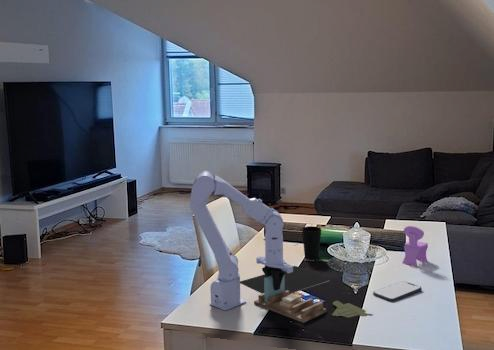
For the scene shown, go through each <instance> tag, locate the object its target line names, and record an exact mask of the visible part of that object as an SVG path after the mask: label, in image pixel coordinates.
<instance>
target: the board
mask: <svg viewBox="0 0 494 350" xmlns="http://www.w3.org/2000/svg"><path fill="white" fill-rule="evenodd" d="M284 291H285V280H284V276H283V279H282V282H281V285H280V289H279V290H276V291H275V290H274V287H273V278H272V275H271V276H268V277H266V278H264V296H265V302H267V298H269V297H272V296H274V295H277V294H279V293H282V292H284Z"/></svg>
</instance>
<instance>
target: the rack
mask: <svg viewBox="0 0 494 350" xmlns="http://www.w3.org/2000/svg"><path fill="white" fill-rule="evenodd" d="M288 295H290V291H288V290H287V291H284V292H282V293H279V294H277V295H274V296H272V297H269V298H267V302H265V296H264V293H263V294H262V293H260V294H258V299H256V300H254V302H253V303H254V305H256V306H259V307H261V308H265V309H267V310H268V311H269V310H270V311H272V312H275V313H277V314H280V315H282V316H285V317H287V318H291V319H293V320H295V321H298V322H301V323H302V324H305V323H306V322H308V321H311V320H313V319H315V318H317V317H320V315H323V314H326V313H327V312H328V311H327V308H325V307H324V302H322V301H318V302H316V303H315V304H314V299H313V298H311V297H310V298H308V299H304V300H303V302H301V303H299V304H296V305H294V306H292V307H291V309H288V308H285V307H283V306H280V302H281V301H282V298H283V297H285V296H288Z"/></svg>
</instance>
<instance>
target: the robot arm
mask: <svg viewBox="0 0 494 350" xmlns="http://www.w3.org/2000/svg"><path fill="white" fill-rule="evenodd" d="M212 193H213V195H214V196H215V195H216V196H218V195H223V196H225V197H227V198H228V199H230V200H232V201H233V202H235V203H236V204H238V205H240V206H242V207H243V209H244V213H245V214H246V215H247V216H249V217H250V218H252V219H253V220H255V221H256V222H258V223H260V224H263V225H264V226H265V235H264V247H265V248H264V249H265V251H264V252H265V254H264V255H265V257H264V256H257V257H256V258H255V259H256V262H255V263H256V264H261V265H264V267H262V268H261V270H262V272H263V275H264V274H265V276H266V277H268V276H271V275H272V278H273V287H274V290H275V291H276V290H279V289H280V285H281V282H282V279H283V276H284V274H285V273H286V272H287V273H291V272H293V266H294V265H291V264H289V263H288V262H285V259H284V237H283V228H284V226H285V223H284V219H283V217H282V215H281V213H280V212H278V210H276V209H275V208H273V207H271V208H270V207H269V206H268V205H266V204H265V203H263V199H261V198H258V199H257V198H256V197H252V198H249V197H248V196H246V195H245V194H243V192H241V191H239V189H236V188H235V187H234V186H233V185H231V184H230V183H229V182H228V181H226V179H223V178H221V177H220V176H218V175H216V174H213V172H211V171H209V170H204V171H203V170H202V171H200V172H199V173H198V174H197V175H196V178H194V181H193V184H192V187H191V193H190V200H189V207H190V210H191V212H192V214H193V216H194V217H195V220H196V222H197V223H198V226H199V228H200V229H201V231H202V234H203V235H204V237H205V239H206V241H207V243H208V245H209V247H210V249H211V251H212V253H213V256H214V258H215V262H216V264H217V267H218V274H217V277H216V279H215V280H214V281H212V283H211V284H210V302H209V303H208V304H209V305H211V306H212V307H215V308H218V309H221V310H223V311H228V310H230V309H233V308H235V307H237V306H238V307H239V306H240V305H243V304H246V303H247V300H245V299H242V298H241V283H240V281H241V277H240V276H241V275H240V273H239V266H238V265H239V260H238V257H237V256H236V255H235V254H233V252H232V251H231V250H230V248H229V247H228V245H227V243H226V241H225V240H224V238H223V235H222V234H221V232H220V230H219V228H218V225H217V224H216V222H215V220H214V218H213V215H212V214H211V211H210V210H209V207H208V206H207V201H208V199H209V197H210V196H211V195H212Z"/></svg>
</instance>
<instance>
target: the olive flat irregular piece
mask: <svg viewBox="0 0 494 350" xmlns="http://www.w3.org/2000/svg"><path fill="white" fill-rule="evenodd" d="M332 305H333V306H335V307H336V309H335V310H334V311H333V313H331V316H333V317H334V316H336V317H340V316H341V317H345V318H353V317H356V316H360V317H367V316H370V317H372V316H374V314H373V313H372V314H371V313H367V312H365V311H366V309H363V308H361V307H359V306H356V305H354V304H351V303H349V302H348V303H343V302H341V301H339V300H335V301H333V302H332Z"/></svg>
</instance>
